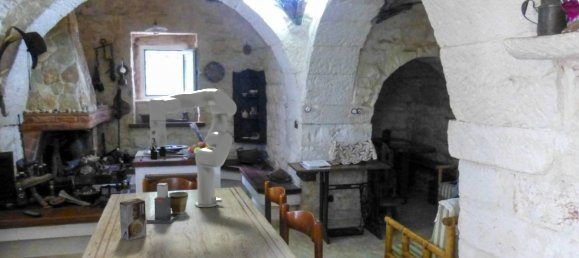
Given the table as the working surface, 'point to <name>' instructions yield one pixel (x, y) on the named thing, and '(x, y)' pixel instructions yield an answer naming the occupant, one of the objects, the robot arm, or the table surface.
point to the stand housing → (162, 211)
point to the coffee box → (132, 219)
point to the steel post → (162, 190)
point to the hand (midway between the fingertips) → (158, 158)
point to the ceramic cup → (178, 202)
